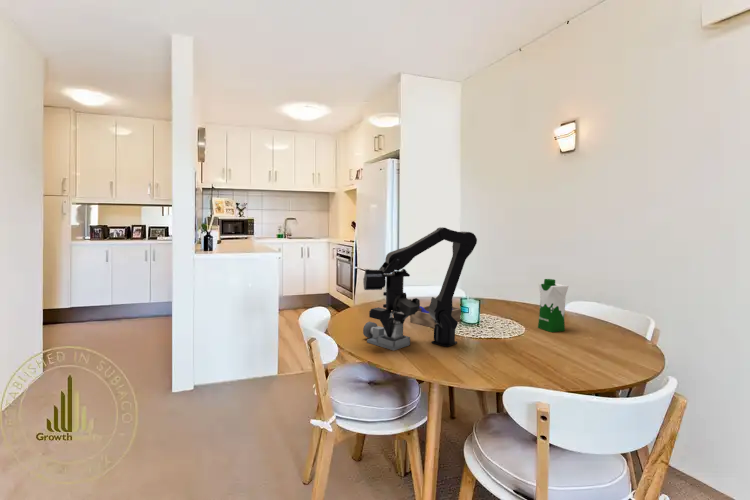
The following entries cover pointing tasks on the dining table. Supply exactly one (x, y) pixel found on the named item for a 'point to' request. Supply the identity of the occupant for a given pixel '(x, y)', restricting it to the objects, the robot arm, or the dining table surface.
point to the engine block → (395, 331)
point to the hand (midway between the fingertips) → (393, 335)
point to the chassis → (385, 343)
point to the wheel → (368, 329)
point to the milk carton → (552, 306)
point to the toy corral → (428, 320)
